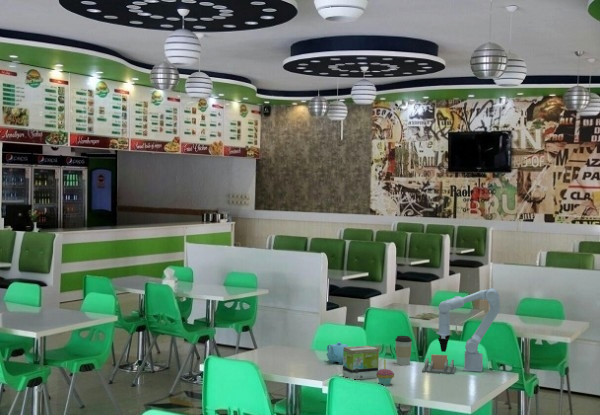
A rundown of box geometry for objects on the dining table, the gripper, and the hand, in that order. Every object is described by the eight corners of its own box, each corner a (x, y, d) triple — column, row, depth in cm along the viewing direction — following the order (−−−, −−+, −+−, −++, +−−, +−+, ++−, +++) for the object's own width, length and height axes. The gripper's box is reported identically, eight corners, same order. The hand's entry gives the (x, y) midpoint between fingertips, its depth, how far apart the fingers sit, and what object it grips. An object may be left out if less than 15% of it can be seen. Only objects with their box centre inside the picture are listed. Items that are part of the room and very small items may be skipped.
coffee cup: (411, 362, 422) (411, 334, 422) (412, 365, 413) (412, 337, 413) (394, 361, 422) (394, 334, 422) (394, 365, 413) (395, 337, 413)
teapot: (348, 361, 426) (348, 340, 427) (353, 365, 412) (353, 343, 413) (325, 361, 424) (325, 340, 425) (330, 365, 410) (330, 344, 411)
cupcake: (374, 382, 374) (375, 357, 374) (392, 382, 374) (392, 357, 374) (377, 386, 365) (378, 360, 365) (395, 386, 366) (396, 360, 366)
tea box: (352, 380, 376) (353, 350, 376) (342, 376, 385) (342, 346, 385) (378, 378, 383) (379, 348, 383) (367, 373, 392) (368, 344, 392)
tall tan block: (447, 368, 401) (447, 355, 401) (446, 369, 400) (447, 355, 400) (431, 367, 404) (431, 354, 403) (431, 368, 402) (431, 354, 402)
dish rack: (455, 368, 406) (455, 359, 406) (453, 374, 393) (454, 364, 393) (424, 366, 411) (425, 357, 411) (422, 372, 397) (422, 362, 397)
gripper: (437, 322, 416) (437, 347, 416) (435, 326, 402) (435, 352, 402) (450, 322, 414) (450, 348, 414) (449, 326, 400) (449, 353, 400)
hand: (443, 350), depth 408 cm, fingers open, 7 cm apart
